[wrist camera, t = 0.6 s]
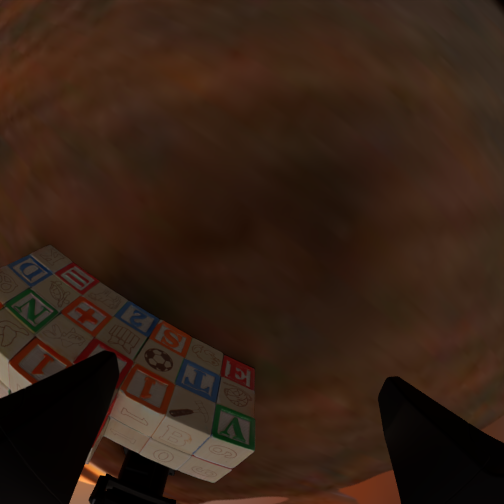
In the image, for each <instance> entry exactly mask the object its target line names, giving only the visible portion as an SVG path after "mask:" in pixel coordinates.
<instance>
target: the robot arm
mask: <svg viewBox="0 0 504 504" xmlns="http://www.w3.org/2000/svg"><path fill="white" fill-rule="evenodd" d="M118 379H119V367H118V361H117V356H116V354H115V353H114V352H111V351H107V350H103V351H101V352H99V353H97V354H95V355H93V356H91V357H89V358H86V359H84V360H82V361H80V362H78V363H76V364H74V365H72V366H70V367H68V368H66V369H63V370H61V371H59V372H57V373H55V374H53V375H51V376H49V377H47V378H44V379H42V380H40V381H38V382H36V383H34V384H31V385H29V386H27V387H25V388H23V389H20V390H18V391H16V392H14V393H11V394H9V395H7V396H4V397H2V398H0V504H69V502H70V500H71V497H72V495H73V492H74V489H75V487H76V484H77V482H78V479H79V477H80V474H81V472H82V470H83V467H84V465H85V462H86V460H87V458H88V455H89V453H90V451H91V448H92V446H93V444H94V442H95V439H96V437H97V435H98V433H99V430H100V428H101V426H102V424H103V421H104V419H105V417H106V415H107V412H108V409H109V406H110V403H111V400H112V397H113V394H114V391H115V388H116V385H117V382H118ZM378 402H379V408H380V413H381V419H382V425H383V431H384V436H385V440H386V444H387V448H388V451H389V455H390V459H391V463H392V467H393V471H394V475H395V479H396V482H397V487H398V491H399V496H400V500H401V504H504V443H503V442H501V441H499V440H496V439H495V438H493V437H491V436H489V435H487V434H486V433H484V432H482V431H481V430H479V429H477V428H476V427H474V426H473V425H471V424H470V423H469V424H468V422H466V421H465V420H463V419H462V418H460V417H459V416H457V415H456V414H454V413H453V412H451V411H450V410H448V409H446V408H445V407H443V406H442V405H440V404H439V403H437V402H436V401H434V400H433V399H431V398H430V397H428V396H427V395H425V394H424V393H422V392H421V391H419V390H418V389H416V388H415V387H413V386H412V385H410V384H409V383H407V382H406V381H404V380H403V379H401V378H400V377H398V376H394V377H388V378H387V379H386V380H385V382H384V384H383V386H382V389H381V391H380V393H379V396H378ZM123 448H124V451H125V454H126V457H125V460H124V462H123V465H122V467H121V470H120V472H119V475H118V478H115V477H112V476H111V475H110V474H106V476H101V475H100V477H99V479H98V481H97V484H96V486H95V488H94V490H93V492H92V494H91V496H90V498H89V502H90V504H176V500H174V499H168V498H165V497H162V496H163V492H164V488H165V484H166V480H167V476H168V475H172V476H173V475H174V474H175V470H174V469H172V468H169V467H167V466H164V465H162V464H160V463H157V462H155V461H153V460H150V459H148V458H146V457H144V456H142V455H140V454H139V453H137V452H134V451H132V450H130V449H128V448H126V447H124V446H123Z"/></svg>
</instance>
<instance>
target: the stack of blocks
mask: <svg viewBox="0 0 504 504" xmlns="http://www.w3.org/2000/svg"><path fill="white" fill-rule="evenodd" d="M103 350H107V351H111V352H114V353H115V354H116V356H117V361H118V367H119V379H118V382H117V385H116V388H115V391H114V394H113V397H112V400H111V403H110V406H109V409H108V412H107V415H106V417H105V419H104V421H103V424H102V426H101V428H100V430H99V433H98V435H97V437H96V439H95V442H94V444H93V446H92V448H91V451H90V453H89V455H88V458H87V460H86V462H85V464H88V463H89V461H90V459H91V457H92V455H93V453H94V451H95V449H96V448H97V446H98V444H99V442H100V440H101V438H102V437H103V436H105V437H107V438H109V439H111V440H112V441H114V442H116V443H118V444H120V445H122V446H124V447H126V448H128V449H130V450H132V451H134V452H137V453H139V454H140V455H142V456H144V457H146V458H148V459H150V460H153V461H155V462H157V463H160V464H162V465H164V466H167V467H169V468H172V469H174V470H179V471H180V472H183V473H186V474H188V475H191V476H194V477H197V478H199V479H203V480H206V481H209V482H212V483H214V482H216V481H217V480H219V479H220V478H221V477H223V476H224V475H226V474H227V473H228V472H230V471H231V470H232V468H234V467H235V466H237V465H238V464H239V463H240V462H242V461H243V460H244V459H245V458H247V457H248V456H249V455H250V454H252V453H253V452H254V451H255V419H254V410H255V392H254V384H255V369H254V368H252V367H249V366H247V365H245V364H243V363H241V362H238V361H236V360H234V359H232V358H230V357H228V356H226V355H223V353H222V352H220V351H218V350H216V349H214V348H212V347H211V346H209V345H207V344H205V343H203V342H201V341H199V340H197V339H195V338H192V337H191V336H190V335H188V334H186V333H184V332H183V331H181V330H179V329H177V328H176V327H174V326H172V325H170V324H169V323H167V322H165V321H164V320H160V319H158V318H157V317H155V316H154V315H152V314H150V313H148V312H147V311H145V310H144V309H142V308H140V307H139V306H137V305H135V304H134V303H132V302H130V301H128V300H127V299H125V298H124V297H122V296H121V295H119V294H118V293H116V292H114V291H113V290H111V289H110V288H108V287H107V286H105V285H104V284H102V283H101V282H100V281H99V280H98V279H96V278H95V277H93V276H92V275H90V274H89V273H87V272H86V271H85V270H83V269H82V268H80V267H79V266H78V265H76V264H75V263H74V262H72V261H71V260H70V259H68V258H67V257H66V256H64V255H63V254H62V253H60V252H59V251H58V250H56V249H55V248H54V247H52V246H51V245H48V246H46V247H44V248H41V249H39V250H37V251H35V252H33V253H31V254H30V255H28V256H25V257H23V258H21V259H19V260H17V261H15V262H13V263H11V264H9V265H7V266H3V267H1V268H0V398H2V397H4V396H7V395H9V394H11V393H14V392H16V391H18V390H20V389H23V388H25V387H27V386H29V385H31V384H34V383H36V382H38V381H40V380H42V379H44V378H47V377H49V376H51V375H53V374H55V373H57V372H59V371H61V370H63V369H66V368H68V367H70V366H72V365H74V364H76V363H78V362H80V361H82V360H84V359H86V358H89V357H91V356H93V355H95V354H97V353H99V352H101V351H103Z"/></svg>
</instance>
